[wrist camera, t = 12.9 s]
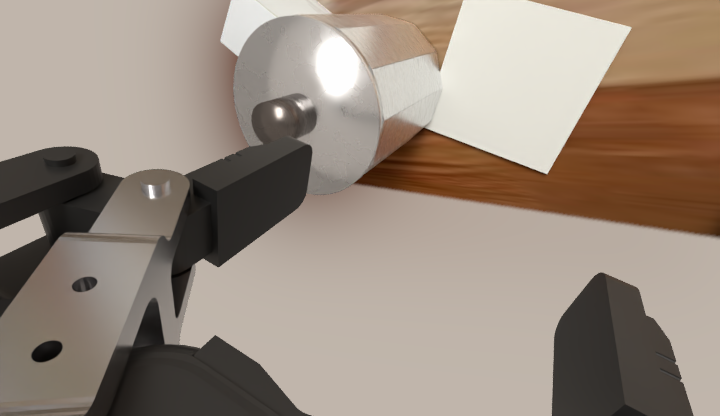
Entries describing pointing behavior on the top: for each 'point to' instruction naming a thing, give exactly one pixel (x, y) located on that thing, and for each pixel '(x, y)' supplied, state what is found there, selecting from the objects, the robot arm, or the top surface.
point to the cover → (337, 90)
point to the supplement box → (260, 17)
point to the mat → (521, 77)
